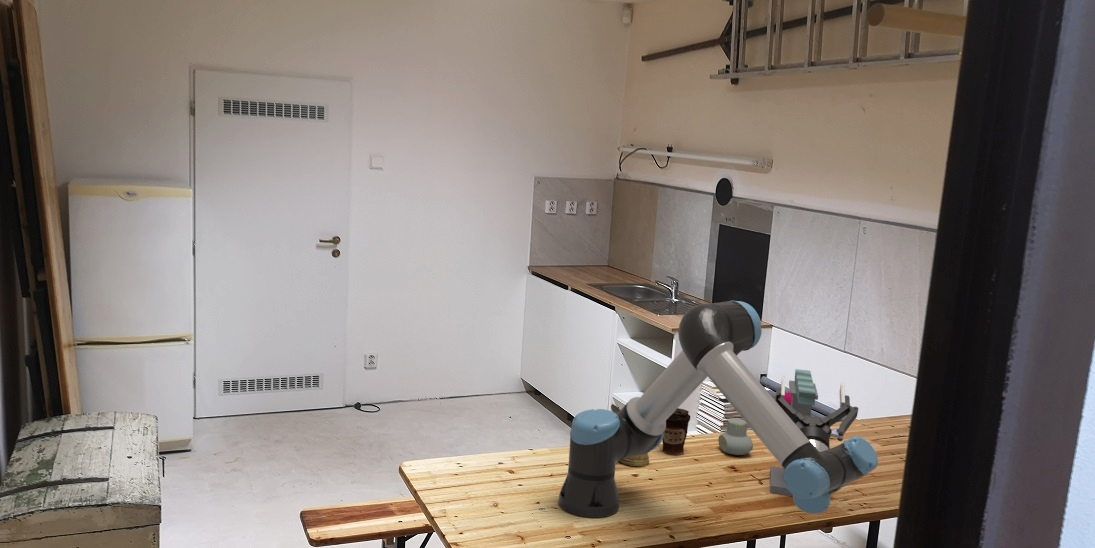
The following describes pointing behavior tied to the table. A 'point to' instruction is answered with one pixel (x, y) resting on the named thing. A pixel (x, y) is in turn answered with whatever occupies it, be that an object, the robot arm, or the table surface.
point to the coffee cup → (676, 432)
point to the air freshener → (735, 438)
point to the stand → (778, 473)
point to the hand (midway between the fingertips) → (812, 383)
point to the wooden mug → (634, 460)
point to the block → (804, 387)
